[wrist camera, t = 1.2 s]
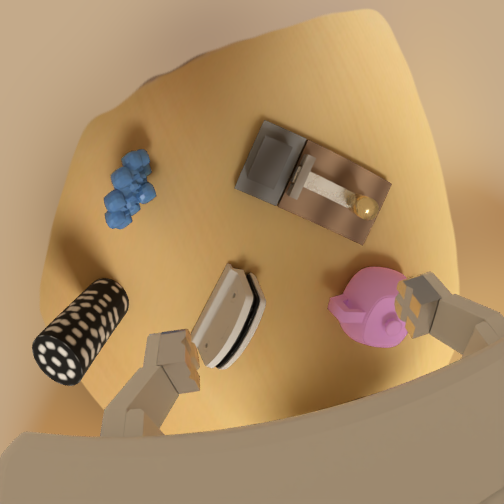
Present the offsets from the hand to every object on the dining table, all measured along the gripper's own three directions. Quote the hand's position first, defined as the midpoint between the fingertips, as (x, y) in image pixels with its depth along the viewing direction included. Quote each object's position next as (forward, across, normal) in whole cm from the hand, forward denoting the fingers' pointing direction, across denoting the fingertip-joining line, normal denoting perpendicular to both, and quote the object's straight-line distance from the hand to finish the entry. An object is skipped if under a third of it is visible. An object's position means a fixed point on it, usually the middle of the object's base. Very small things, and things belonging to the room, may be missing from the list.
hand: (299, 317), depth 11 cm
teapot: (+30, +20, -31) cm, 47 cm away
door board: (+36, +11, -10) cm, 39 cm away
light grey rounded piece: (+33, -6, -28) cm, 44 cm away
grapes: (+40, -14, -6) cm, 43 cm away
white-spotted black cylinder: (+36, -28, -23) cm, 51 cm away
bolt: (+34, +13, -10) cm, 38 cm away
